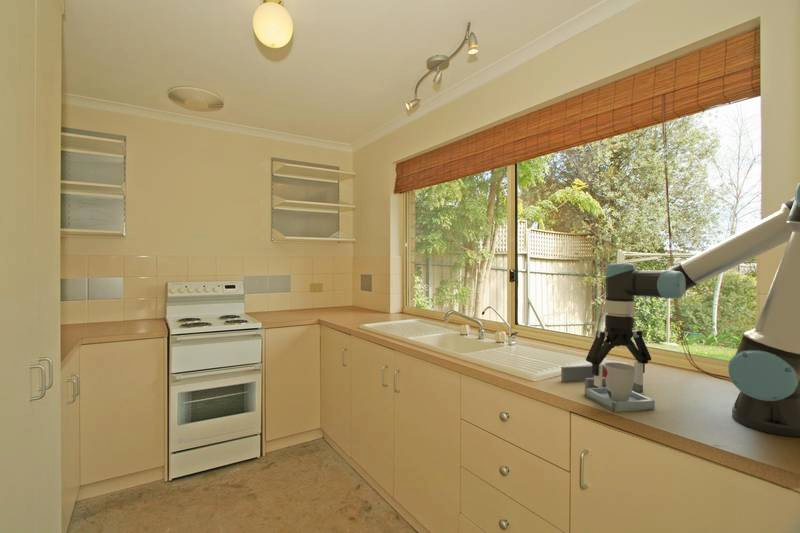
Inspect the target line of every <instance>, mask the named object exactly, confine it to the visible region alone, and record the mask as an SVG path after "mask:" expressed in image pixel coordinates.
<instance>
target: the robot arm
mask: <svg viewBox="0 0 800 533" xmlns="http://www.w3.org/2000/svg"><path fill="white" fill-rule="evenodd" d="M785 243H787V244H786V247H785V249H784V253H783V254H782V257H781V260H780V261H779V265H778V267H777V270H776V272H775V275H774V278H773V280H772V283H771V285H770V288H769V290H768V293H767V296H766V298H765V301H764V304H763V306H762V308H761V310H760V314H759V316H758V318H757V322H756V324H755V327H754V328H753V329H750V330H747V331H745V332H743V334H742V337H741V339H740V342H739V344H738V347H737V350H736V352H735V355H734V356H732V358H730V360H729V363H728V366H727V368H728V369H727V370H728V371H727V372H728V376H729V379H730V381H731V382H732V384H733V385H734V386H735V387H736V388H737V390H739V394H738V395H737V398H736V399H735V402H734V405H733V406H732V408H731V418H732V419H733V420H734V421H736V422H737V423H739V424H741V425H744V426H746V427H748V428H750V429H754V430H758V431H761V432H765V433H769V434H773V435H778V436H779V435H780V436H785V437H794V438H795V437H797V438H799V437H800V181H799V182H798V183H797V185H796V187H795V190H794V197H793V198H791V199H789V200H788V201H785V202H784V203H782V204H781V209H780V210H778V211H776V212H774V213H773V214H770V215H768V216H767V217H765V218H762V219H761V220H759V221H757V222H755V223H753V224H751V225H750V226H748V227H746V228H744V229H742V230H740V231H738V232H736V233H735V234H733V235H731V236H729V237H726V238H725V239H723V240H721V241H720V242H718V243H716V244H714V245H712V246H709V247H708V248H706V249H704V250H702V251H701V252H699V253H696V254H695V255H694V256H691V257H689V258H687V259H685V260H683V261H681V262H680V263H678V264H676V265H674V266H672V267H670V268H668V269H665V270H661V269H660V270H639V269H636V267H635V266H636V265H635V264H634V263H629V262H628V263H627V262H626V263H622V262H621V263H620V262H619V263H617V262H616V263H615V262H614V263H608V264H607V265H606V270H605V277H604V279H605V302H604V303H605V306H604V307H605V310H604V311H605V313H606V314H605V315H604V316H605V317H604V327H605V328H606V329H605V331H602V330H595V338H594V341H593V342H592V344H591V347H590V349H589V352H588V353H587V355H586V358H585V361H586V362H588V363H590V364H591V365H592V374H593V375H594V385H595V386H598V387H600V388H602V373H603V366H602V365H600V364H601V362H602V361H603V360H605V358H606V357H607V356H608V355H609V353H610V351H611V350H612V349H614V348H615V347H621V346H622V347H626V348H627V349H628V351H629V352H630V354H631V355H632V356H633V358H634V359H635V361H633V366H634V367H635V375H634V383H636V384H639V385H643V386H644V374H645V372H646V368H645V364H646V365H648V363H649V362H651V360H652V357H651V354H650V352H649V350H648V347H647V344H646V342H645V340H644V338H643V331H641V330H639V329H634V327H635V326H634V325H635V317H634V316H633V315H634V314H635V296H636V297H647V298H650V297H651V298H661V299H662V298H663V299H680V298H683V297H684V294H685V293H686V292H687V291H688V290H689V289H692V288H694V287H696V286H697V285H699V284H701V283H704V282H706V281H708V280H710V279H713V278H714V277H716V276H718V275H721V274H722V273H725V272H727V271H729V270H731V269H733V268H734V267H735V268H736V267H737V266H739V265H741V264H743V263H745V262H747V261H751V260H752V259H754V258H757V257H758V256H760V255H762V254H764V253H767V252H768V251H770V250H772V249H775V248H776V247H779V246H781V245H783V244H785ZM632 338H633V339H632ZM633 340H634V341H633Z"/></svg>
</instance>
